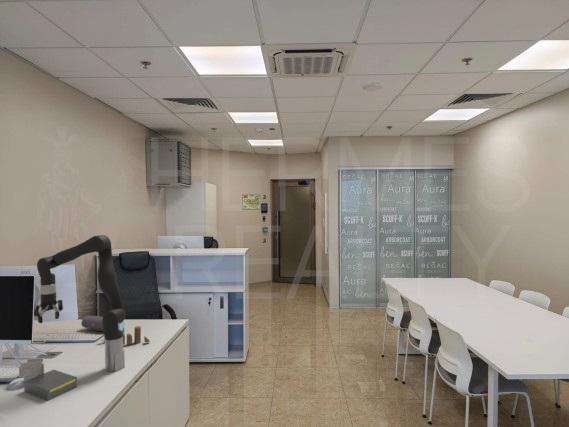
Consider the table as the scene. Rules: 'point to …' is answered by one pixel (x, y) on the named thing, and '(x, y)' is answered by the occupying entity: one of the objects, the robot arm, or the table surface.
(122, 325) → the squiggly pen holder
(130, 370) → the table surface
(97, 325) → the bluetooth speaker
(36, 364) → the cable organizer
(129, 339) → the wooden block set
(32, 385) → the block
